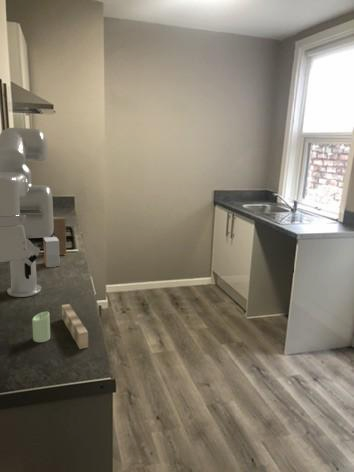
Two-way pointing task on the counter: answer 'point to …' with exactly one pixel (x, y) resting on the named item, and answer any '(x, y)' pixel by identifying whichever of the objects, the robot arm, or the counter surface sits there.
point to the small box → (51, 251)
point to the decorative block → (60, 233)
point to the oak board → (75, 326)
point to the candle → (41, 327)
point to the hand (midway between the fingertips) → (9, 279)
